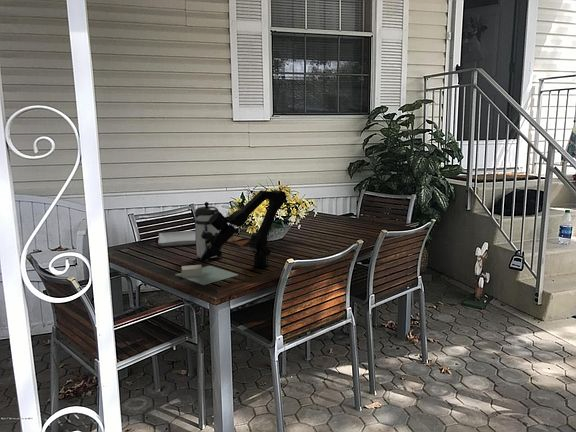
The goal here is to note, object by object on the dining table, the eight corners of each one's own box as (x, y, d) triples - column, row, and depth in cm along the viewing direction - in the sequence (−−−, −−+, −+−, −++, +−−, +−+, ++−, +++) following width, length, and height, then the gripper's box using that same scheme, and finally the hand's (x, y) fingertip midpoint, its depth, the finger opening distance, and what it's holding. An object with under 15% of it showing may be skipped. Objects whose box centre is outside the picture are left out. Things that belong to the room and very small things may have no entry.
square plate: (159, 238, 291) (158, 232, 290) (203, 235, 298) (202, 230, 297) (158, 248, 265) (157, 242, 265) (206, 245, 272) (206, 239, 271)
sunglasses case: (221, 242, 277) (225, 232, 279) (229, 246, 282) (233, 236, 284) (241, 247, 265) (246, 236, 267) (249, 251, 270) (253, 240, 272)
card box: (201, 264, 216) (181, 266, 214) (202, 268, 211) (182, 269, 208) (201, 271, 217) (181, 273, 214) (202, 275, 211) (182, 277, 209)
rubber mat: (209, 266, 227) (209, 265, 227) (239, 275, 212) (238, 274, 212) (174, 275, 213) (174, 274, 213) (203, 286, 198) (203, 285, 198)
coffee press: (222, 262, 234) (220, 204, 229) (191, 262, 235) (188, 204, 229) (227, 253, 251) (226, 199, 246) (198, 253, 252) (196, 199, 246)
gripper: (208, 220, 220) (185, 244, 219) (213, 228, 203) (189, 254, 201) (225, 236, 224) (203, 259, 223) (232, 244, 206) (208, 270, 205)
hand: (200, 260), depth 213 cm, fingers closed
